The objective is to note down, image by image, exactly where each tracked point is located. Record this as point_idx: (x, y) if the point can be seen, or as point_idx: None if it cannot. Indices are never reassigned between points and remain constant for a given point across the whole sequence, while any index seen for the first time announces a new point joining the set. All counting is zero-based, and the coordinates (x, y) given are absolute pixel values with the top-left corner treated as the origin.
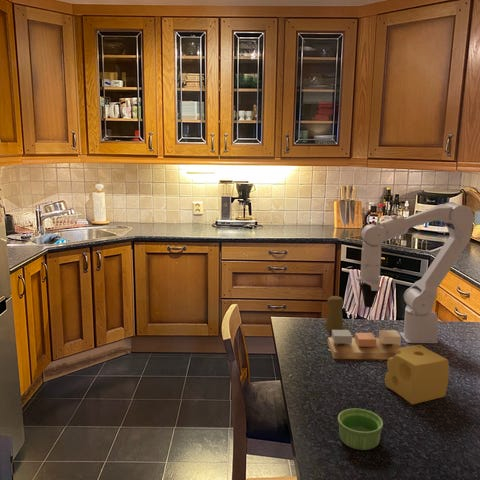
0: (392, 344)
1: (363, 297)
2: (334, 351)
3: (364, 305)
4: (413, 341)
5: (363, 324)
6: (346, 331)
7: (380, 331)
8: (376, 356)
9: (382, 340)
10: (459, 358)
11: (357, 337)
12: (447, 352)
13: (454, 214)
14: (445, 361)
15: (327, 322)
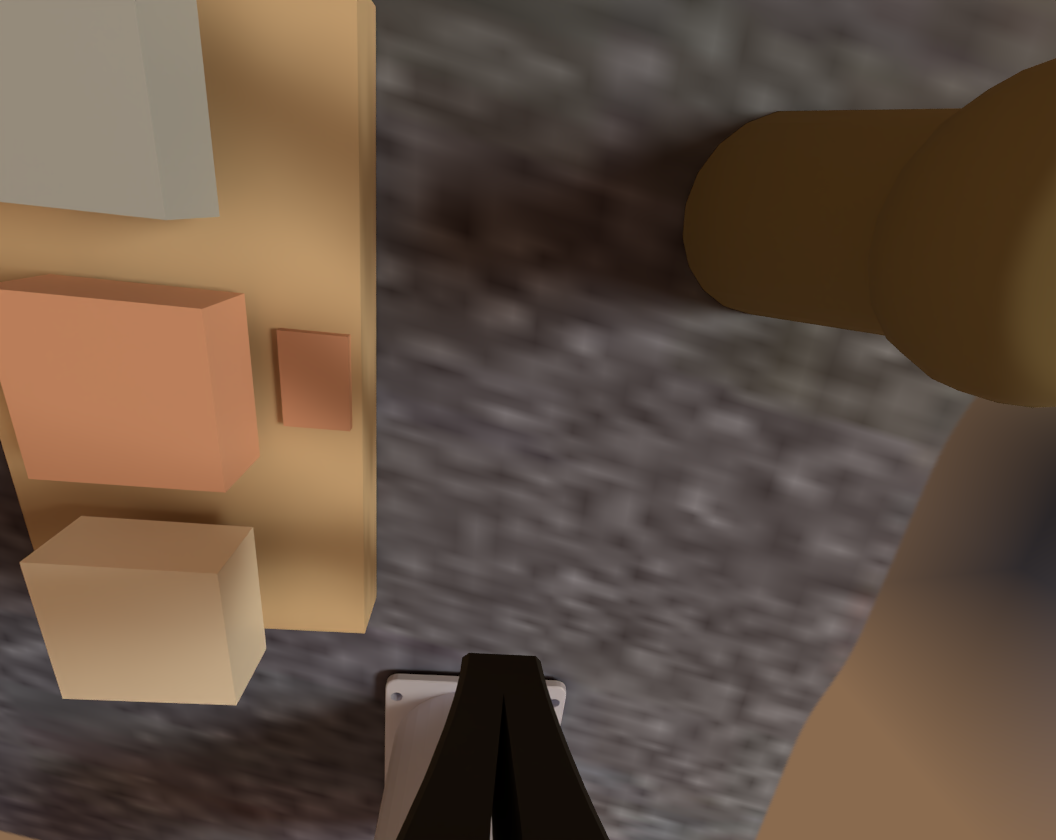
0: None
1: (530, 804)
2: None
3: (533, 661)
4: (390, 714)
5: (804, 510)
6: (92, 164)
7: (176, 575)
8: None
9: (97, 530)
10: (182, 827)
11: (67, 293)
12: (262, 807)
13: None
14: None
15: (821, 113)
